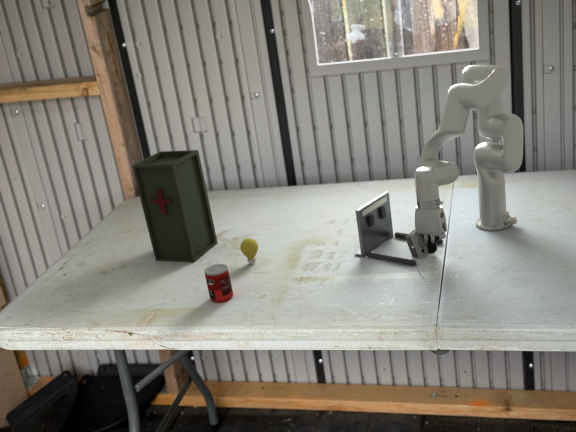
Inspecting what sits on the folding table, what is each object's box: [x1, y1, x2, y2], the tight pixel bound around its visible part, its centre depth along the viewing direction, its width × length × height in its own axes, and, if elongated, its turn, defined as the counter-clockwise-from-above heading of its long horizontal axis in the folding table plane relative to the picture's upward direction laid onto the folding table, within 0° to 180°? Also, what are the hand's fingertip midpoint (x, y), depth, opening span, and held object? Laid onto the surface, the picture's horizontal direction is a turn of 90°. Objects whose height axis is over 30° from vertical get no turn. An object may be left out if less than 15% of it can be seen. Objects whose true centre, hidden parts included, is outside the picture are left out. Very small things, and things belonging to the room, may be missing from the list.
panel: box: [354, 190, 394, 258], centre depth 242 cm, size 5×20×18 cm, turn 139°
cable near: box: [365, 252, 417, 267], centre depth 230 cm, size 20×2×2 cm, turn 49°
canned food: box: [203, 263, 234, 304], centre depth 222 cm, size 8×8×11 cm
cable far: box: [393, 231, 444, 245], centre depth 243 cm, size 20×2×2 cm, turn 49°
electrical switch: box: [404, 228, 429, 259], centre depth 232 cm, size 9×5×9 cm, turn 141°
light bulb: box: [239, 237, 259, 266], centre depth 245 cm, size 7×7×10 cm
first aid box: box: [131, 149, 218, 263], centre depth 261 cm, size 18×18×40 cm
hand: (432, 252), depth 229 cm, fingers closed
